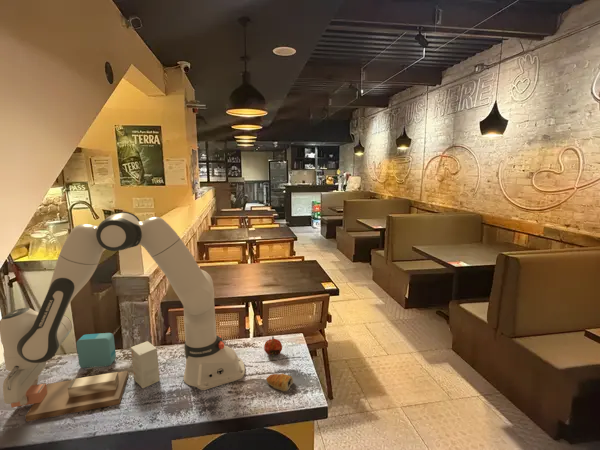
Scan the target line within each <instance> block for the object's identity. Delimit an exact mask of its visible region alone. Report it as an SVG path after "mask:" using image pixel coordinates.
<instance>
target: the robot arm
mask: <svg viewBox="0 0 600 450" xmlns="http://www.w3.org/2000/svg"><path fill="white" fill-rule="evenodd" d="M139 245H140V246H141V247H143V248H144V249H145V250H146V252H147V253H148V255H150V257H151V258H152V260H153V261H154V262H155V264H156V265H157V267H159V269H160V270H161V271H162V272H163V274H164V276H165V277H166V279H167V280H168V282H169V284H170V286H171V288H172V289H173V291H174V293H175V295H176V296H177V297H178V299H179V301H180V302H181V304H182V307H183V323H184V324H183V327H184V338H185V340H184V345H183V347H184V348H183V350H184V357H185V368H184V374H183V381H184V383H185V384H186V385H188V386H190V387H194V388H197V389H199V390H200V391H205V390H209V389H212V388H216V387H218V386H221V385H225V384H229V383H231V382H235V381H239V380H242V379H243V378H244V377H245V373H246V368H245V367H246V365H245V364H244V363H245V362H244V361H243V360H242V358H240V357H239V356H238V354H237V352H236V351H235V350H234V348H232V347H230V346H228V345H225V343H224V341H223V338H222V336H221V334H219V336H218V335H217V321H216V319H217V318H216V309H215V308H216V306H215V288H214V286H215V285H214V281H213V278H212V276H211V274H210V273H208V272H207V271H206V270H203V269H201V268H200V266H199V264H198V262H197V261H196V259H195V257H194V255H193V254H192V252H191V251H190V249H188V247H187V245H185V243H184V241H183V240H182V238H180V236H179V235H178V233H177V232H176V231H175V230H174V229H173V227H171V225H170V224H169V223H168V222H167V221H166V220H164V218H162V217H161V216H160V217H159V216H152V217H148V218H146V219H144V220H142V221H141V220H140V219H139V217H137V215H136V214H134V213H132V212H129V211H128V212H127V211H121V212H117V213H113V214H111V215H109V216H108V217H106V218H105V219H104V220H102V221H101V222H100V223H99V224H98V225H94V224H89V223H83V224H82V223H81V224H77V225H76V226H74V227H73V228H72V229H71V230H70V233H69V234H68V235H67V237H66V239H65V241H64V242H63V245H62V246H61V249H60V251H59V254H58V257H57V260H56V264H55V267H54V270H53V274H52V277H51V280H50V283H49V287H48V289H47V292H46V294H45V297H44V300H43V302H42V305H41V307H40V309H39V311H36V310H34V309H32V308H31V307H21V308H18V309H15V310H12V311H9V312H8V313H7V314H5V315H4V316H2V318H1V319H0V342H1V345H2V346H3V359H4V364H5V369H6V371H8V372H9V373H7V375H6V377H5V378H4V380H3V384H2V393H3V394H2V396H3V402H4V403H5V404H6V405H9V404H10V405H11V403H16V402H19V401H20V405H24V406H27V405H26V404H27V402H28V401H29V398H28V397H26V392H27V391H28V389H29V388H30V387H31V386H33V385H38V382H39V376H40V375H41V373H42V372H43V370H44V369H45V368H46V366H47V362H48V361H49V360H51V359H53V358H54V356H55V355H56V354H57V352H58V350H59V348H61V346H62V344H63V343H64V341H65V340H66V339H67V337H68V336H69V335H70V333H71V331H72V328H73V325H72V321H71V320H70V318H69V317H67V316H66V315H65V314H66V312H67V310H68V307H69V306H70V303H71V302H72V301H73V299H75V296H77V294H78V293H79V292H80V291H81V290H82V289H83V288H84V287H85V285H86V284H88V282H89V280H90V279H91V278H92V277H93V275H94V274H95V271H96V270H97V268H98V266H99V262H100V260H101V257H102V255H103V252H104V251H105V250H107V251H111V252H118V251H119V252H121V251H124V250H128V249H130V248H135V247H137V246H139Z"/></svg>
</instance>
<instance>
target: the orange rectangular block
mask: <svg viewBox="0 0 600 450" xmlns="http://www.w3.org/2000/svg"><path fill="white" fill-rule="evenodd" d="M46 385H47V383H45V382H44V383H40V384H37V385H33V386H31V387H30V388H29V389H28V391H27V392H26V397H28V398H29V401H28V402H27V404H26V405H20V401H19V402H16V403H11V404H10V406H11V408H17V407H23V406H24V407H25V406H29V405H33V404H35V403H40V402H42V400H43V399H44V397H45V396H46V394H47V386H46Z"/></svg>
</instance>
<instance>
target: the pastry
mask: <svg viewBox="0 0 600 450" xmlns="http://www.w3.org/2000/svg"><path fill="white" fill-rule="evenodd" d="M266 383H267V385H269V386H271V387H272V388H273V389H276V390H278V391H282V392H287V391H289V389H290V388H291V386H292V385H293V383H294V378H293V376H291V375H288V374H285V373H273V374H270V375H268V376H267V377H266Z"/></svg>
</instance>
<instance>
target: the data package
mask: <svg viewBox="0 0 600 450" xmlns="http://www.w3.org/2000/svg"><path fill="white" fill-rule="evenodd" d="M75 343H76V350H77V351H76V352H77V359H78V364H79V367H80V368H83V369H87V368H102V367H109V366H111V365H112V364H113V363H114V361H115V359H116V358H117V354H116V352H117V351H116V346H115V345H116V344H115V336H114V334H113V333H111V332H105V333H104V332H103V333H101V332H100V333H90V334H89V333H88V334H87V333H86V334H83V335H82V336H81V337H80V338H78V340H77V341H76V342H75Z"/></svg>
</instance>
